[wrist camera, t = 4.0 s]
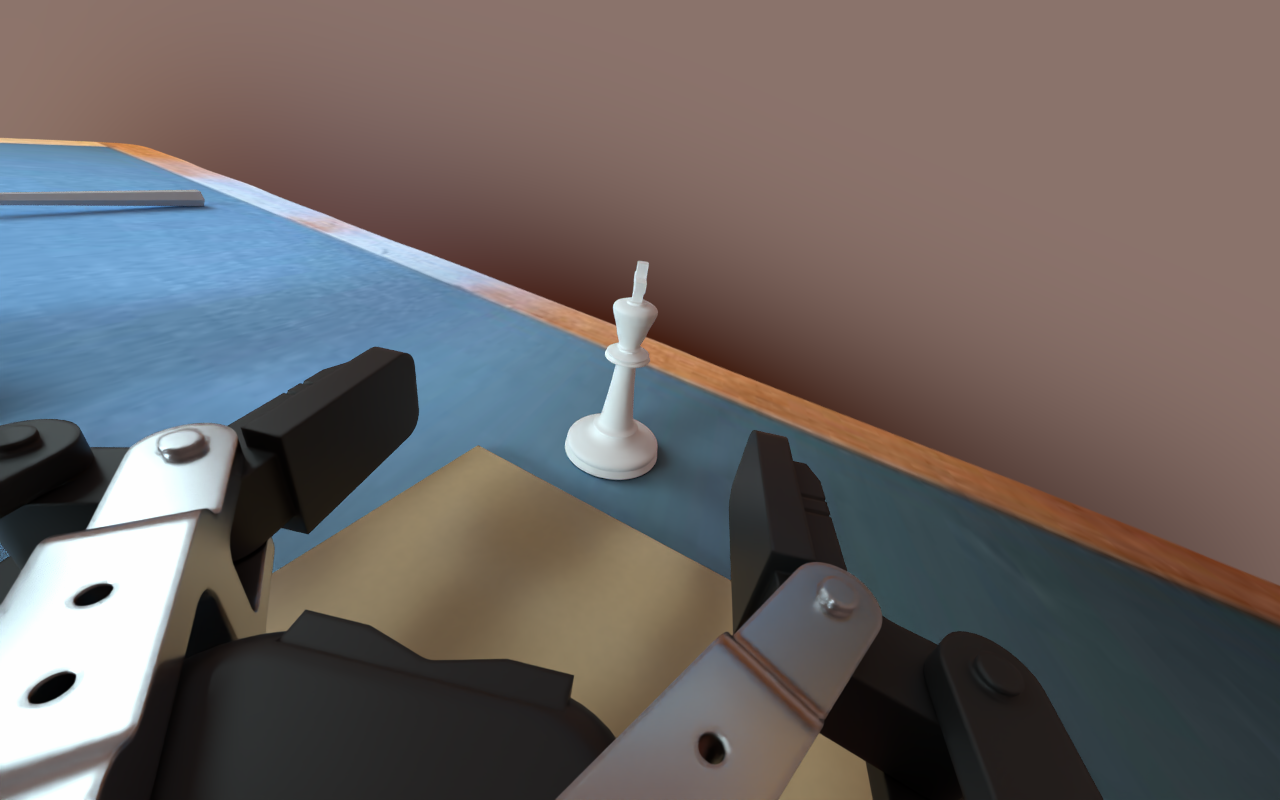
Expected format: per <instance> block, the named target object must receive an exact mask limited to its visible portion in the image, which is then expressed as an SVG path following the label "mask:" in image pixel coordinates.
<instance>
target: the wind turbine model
mask: <svg viewBox="0 0 1280 800" xmlns="http://www.w3.org/2000/svg"><path fill="white" fill-rule="evenodd" d="M0 205H76V206H204V198H203V196H202V194H201V192H200V191H198V190H154V191H83V192H11V193H0Z"/></svg>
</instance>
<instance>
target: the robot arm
mask: <svg viewBox="0 0 1280 800" xmlns="http://www.w3.org/2000/svg"><path fill="white" fill-rule="evenodd" d="M418 416H419V406H418V395H417V385H416V374H415V364H414V360H413V358H412V356H411V355H410V354H408V353H403V352H399V351H394V350H390V349H385V348H380V347H373V348H370V349H369V350H367V351H365V352H364V353H362V354H360V355H359V356H357V357H356V358H354V359H352V360H351V361H349V362H346V363H343V364H340V365H337V366H334V367H330V368H327V369H324V370H322V371H320V372H318V373H317V374H315V375H313V376H312V377H310V378H308V379H307V380H305V381H304V383H303V384H298V385H296V386H295V387H293V388H291V389H289V390H288V392H287V394H286V393H283V394H281V395H279V396H278V397H276V398H274V399H272V400H271V401H269V402H267V403H266V404H264V405H262V406H261V407H259V408H257V409H255V410H254V411H252V412H250V413H249V414H247V415H245V416H244V417H242V418H240V419H238V420H237V421H235V422H233V423H232V424H230V425H228V426H225V425H221V424H214V423H197V424H188V425H182V426H177V427H173V428H169V429H165V430H162V431H160V432H157V433H154V434H152V435H150V436H147V437H146V438H144V439H142V440H140V441H139V442H137V443H136V444H134V445H133V446H132V447H131V448H121V447H90V446H89V445H88V443H87V441H86V439H85V437H84V435H83V434H82V432H81V430H80V428H79V427H78V426H77V425H76V424H74V423H72V422H69V421H65V420H58V419H37V420H27V421H21V422H14V423H10V424H5V425H1V426H0V543H1V544H2V546H3V547H4V548H5V550H6V551H7V552H8V554H9V555H10V557H8V558H6V559H5V560H3V561H2V562H0V800H779V798H780V796H781V795H782V793H783V791H784V790H785V788H786V787H787V785H788V783H789V782H790V780H791V778H792V777H793V775H794V774H795V772H796V770H797V769H798V767H799V765H800V764H801V762H802V760H803V759H804V757H805V756H806V754H807V752H808V751H809V749H810V747H811V746H812V744H813V742H814V741H815V739H816V738H817V736H818V734H819V733H820V734H821V735H823V736H825V737H826V738H828V739H830V740H831V741H833V742H835V743H836V744H838V745H840V746H841V747H843V748H845V749H846V750H848V751H849V752H851V753H853V754H854V755H856V756H858V757H859V758H861V759H863V760H864V761H866V767H867V772H868V777H869V783H870V788H871V793H872V798H873V800H1103V798H1102V796H1101V794H1100V792H1099V791H1098V789H1097V787H1096V785H1095V783H1094V781H1093V779H1092V778H1091V776H1090V774H1089V772H1088V770H1087V768H1086V767H1085V765H1084V763H1083V761H1082V759H1081V757H1080V755H1079V754H1078V752H1077V750H1076V748H1075V746H1074V744H1073V742H1072V741H1071V739H1070V737H1069V735H1068V733H1067V731H1066V730H1065V728H1064V726H1063V724H1062V722H1061V720H1060V718H1059V717H1058V715H1057V713H1056V711H1055V709H1054V707H1053V706H1052V704H1051V702H1050V700H1049V698H1048V696H1047V694H1046V693H1045V691H1044V689H1043V688H1042V686H1041V684H1040V683H1039V682H1038V680H1037V679H1036V678H1035V676H1034V675H1033V674H1032V673H1031V672H1030V671H1029V670H1028V668H1027V667H1026V666H1025V665H1024V664H1022V663H1021V662H1020V661H1019V660H1018V659H1017V658H1016V657H1015V656H1013V655H1012V654H1011V653H1010V652H1008V651H1007V650H1006V649H1004V648H1003V647H1001V646H1000V645H998V644H996V643H994V642H993V641H991V640H989V639H987V638H985V637H982V636H980V635H977V634H974V633H969V632H961V631H958V632H952V633H950V634H948V635H947V636H946V637H944V638H943V640H942V641H941V642H940V643H939V644H938V645H937V644H935V643H933V642H931V641H929V640H927V639H925V638H923V637H921V636H919V635H917V634H915V633H913V632H911V631H909V630H907V629H905V628H903V627H901V626H899V625H897V624H895V623H893V622H891V621H890V620H888V619H886V618H885V617H884V616H882V613H881V610H880V606H879V604H878V602H877V600H876V599H875V597H874V596H873V594H872V593H871V592H870V590H869V589H868V588H867V587H866V586H865V585H864V584H863V583H862V582H861V581H860V580H859V579H857V578H856V577H855V576H853V575H852V574H850V573H849V572H847V569H846V565H845V562H844V559H843V555H842V552H841V549H840V545H839V542H838V539H837V536H836V532H835V529H834V526H833V522H832V519H831V517H829V515H830V512H829V509H828V506H827V502H825V496H824V492H823V489H822V486H821V482H820V480H819V479H818V478H817V477H816V475H815V474H814V473H813V472H812V471H811V469H810V468H809V467H808V466H807V464H804V463H799V462H795V461H793V459H792V455H791V450H790V446H789V442H788V439H787V437H784V436H779V435H775V434H770V433H765V432H761V431H756V430H753V431H752V432H751V434H750V436H749V439H748V442H747V444H746V447H745V450H744V453H743V456H742V459H741V462H740V464H739V467H738V470H737V473H736V476H735V479H734V482H733V485H732V489H731V494H730V500H729V529H730V559H731V590H732V620H733V635H731V634H730V633H729V632H724V633H723V634H721V635H720V636H719V637H717V638H716V639H715V640H714V641H713V642H712V643H711V644H710V645H709V646H708V647H707V648H706V649H705V650H704V651H703V652H702V653H701V654H700V655H699V656H698V657H697V658H696V659H695V660H694V661H693V662H692V663H691V664H690V665H689V666H688V667H687V668H686V669H685V670H684V671H683V672H682V673H681V674H680V675H679V676H678V677H677V678H676V679H675V680H674V681H673V682H672V683H671V684H670V685H669V686H668V687H667V688H666V689H665V690H664V691H663V692H662V693H661V694H660V695H659V696H658V697H657V698H656V699H655V700H654V701H653V702H652V703H651V704H650V705H649V706H648V707H647V708H646V709H645V710H644V711H643V712H642V713H641V714H640V715H639V716H638V717H637V718H636V719H635V720H634V721H633V722H632V723H631V724H630V725H629V726H628V727H627V728H626V729H625V730H624V731H623V732H622V733H621V734H620V735H619V736H618V737H617V738H616V737H615V736H614V734H613V733H612V732H611V730H610V729H609V728H608V727H607V726H606V725H605V724H604V723H603V722H602V721H601V720H600V719H599V718H598V717H597V716H596V715H595V714H594V713H593V712H591V711H590V710H589V709H588V708H586V707H585V706H584V705H582V704H581V703H579V702H577V701H576V700H574V699H572V698H571V692H572V686H573V680H574V675H572V674H568V673H564V672H560V671H555V670H551V669H547V668H543V667H539V666H535V665H531V664H527V663H523V662H519V661H515V660H511V659H467V660H430V659H426V658H424V657H422V656H420V655H418V654H417V653H415V652H414V651H412V650H410V649H409V648H407V647H405V646H404V645H402V644H400V643H399V642H397V641H395V640H394V639H392V638H391V637H389V636H387V635H386V634H384V633H382V632H381V631H379V630H377V629H376V628H374V627H372V626H371V625H368V624H363V623H359V622H355V621H351V620H347V619H343V618H339V617H335V616H331V615H327V614H323V613H318V612H314V611H310V610H306V609H305V611H304V612H303V613H302V614H301V615H300V616H299V617H298V619H297V620H296V621H295V622H294V623H293V624H292V625H291V627H290V628H289V629H288V630H287V631H281V632H273V633H266V622H267V613H268V604H269V595H270V586H271V577H272V568H273V559H274V550H275V547H274V542H273V539H272V536H273V535H274V534H275V533H276V532H277V531H278V530H279V529H281V528H284V529H288V530H292V531H297V532H301V533H305V534H309V533H310V532H311V531H312V530H313V529H314V528H315V527H316V526H317V525H318V524H319V523H320V522H321V521H323V520H324V519H325V518H326V517H327V516H328V515H329V514H330V513H331V512H332V511H333V510H334V509H335V508H336V507H337V506H338V505H339V504H340V503H341V502H342V501H343V500H344V499H345V498H346V497H347V496H348V495H349V494H350V493H351V492H352V491H353V490H355V489H356V488H357V487H358V486H359V485H360V484H361V483H362V482H363V481H364V480H365V479H366V478H367V477H368V476H369V475H370V474H371V473H372V472H373V471H374V470H375V469H376V468H377V467H378V466H379V465H380V464H381V463H382V462H383V461H384V460H385V459H386V458H388V457H389V456H390V455H391V454H392V453H393V452H394V451H395V450H396V449H397V448H398V447H399V446H400V445H401V444H402V443H403V442H404V441H405V440H406V439H407V438H408V437H409V436H410V435H411V434H412V432H413V431H414V429H415V427H416V424H417V421H418Z"/></svg>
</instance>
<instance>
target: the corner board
mask: <svg viewBox="0 0 1280 800" xmlns="http://www.w3.org/2000/svg"><path fill="white" fill-rule="evenodd" d="M305 609H306V610H310V611H314V612H318V613H323V614H327V615H331V616H335V617H339V618H343V619H347V620H351V621H355V622H359V623H363V624H368V625H371V626H372V627H374V628H376V629H377V630H379V631H381V632H382V633H384V634H386V635H387V636H389V637H391V638H392V639H394V640H395V641H397V642H399V643H400V644H402V645H404V646H405V647H407V648H409V649H410V650H412V651H414V652H415V653H417V654H418V655H420V656H422V657H424V658H426V659H430V660H467V659H511V660H515V661H519V662H523V663H527V664H531V665H535V666H539V667H543V668H547V669H551V670H555V671H560V672H564V673H568V674H572V675H574V680H573V686H572V692H571V698H572V699H574V700H576V701H577V702H579V703H581V704H582V705H584V706H585V707H586V708H588V709H589V710H590V711H591V712H593V713H594V714H595V715H596V716H597V717H598V718H599V719H600V720H601V721H602V722H603V723H604V724H605V725H606V726H607V727H608V728H609V729H610V730H611V732H612V733H613V734H614V736H615V737H616V738H617V737H618V736H619V735H620V734H621V733H622V732H623V731H624V730H625V729H626V728H627V727H628V726H629V725H630V724H631V723H632V722H633V721H634V720H635V719H636V718H637V717H638V716H639V715H640V714H641V713H642V712H643V711H644V710H645V709H646V708H647V707H648V706H649V705H650V704H651V703H652V702H653V701H654V700H655V699H656V698H657V697H658V696H659V695H660V694H661V693H662V692H663V691H664V690H665V689H666V688H667V687H668V686H669V685H670V684H671V683H672V682H673V681H674V680H675V679H676V678H677V677H678V676H679V675H680V674H681V673H682V672H683V671H684V670H685V669H686V668H687V667H688V666H689V665H690V664H691V663H692V662H693V661H694V660H695V659H696V658H697V657H698V656H699V655H700V654H701V653H702V652H703V651H704V650H705V649H706V648H707V647H708V646H709V645H710V644H711V643H712V642H713V641H714V640H715V639H716V638H717V637H719V636H720V635H721V634H723V633H724V632H729V633H730V634H731V635H733V620H732V590H731V580H729V579H727V578H725V577H723V576H721V575H719V574H718V573H716V572H714V571H712V570H710V569H708V568H706V567H705V566H703V565H701V564H699V563H697V562H695V561H693V560H691V559H690V558H688V557H686V556H684V555H682V554H680V553H678V552H676V551H675V550H673V549H671V548H669V547H667V546H665V545H663V544H662V543H660V542H658V541H656V540H654V539H652V538H650V537H648V536H647V535H645V534H643V533H641V532H639V531H637V530H635V529H634V528H632V527H630V526H628V525H626V524H624V523H622V522H620V521H619V520H617V519H615V518H613V517H611V516H609V515H607V514H605V513H604V512H602V511H600V510H598V509H596V508H594V507H592V506H591V505H589V504H587V503H585V502H583V501H581V500H579V499H577V498H576V497H574V496H572V495H570V494H568V493H566V492H564V491H563V490H561V489H559V488H557V487H555V486H553V485H551V484H549V483H548V482H546V481H544V480H542V479H540V478H538V477H536V476H534V475H533V474H531V473H529V472H527V471H525V470H523V469H521V468H520V467H518V466H516V465H514V464H512V463H510V462H508V461H506V460H505V459H503V458H501V457H499V456H497V455H495V454H493V453H491V452H490V451H488V450H486V449H484V448H482V447H480V446H476V447H474V448H473V449H471V450H470V451H468V452H466V453H465V454H463V455H462V456H460V457H458V458H457V459H455V460H454V461H452V462H450V463H449V464H447V465H446V466H444V467H442V468H441V469H439V470H438V471H436V472H434V473H433V474H431V475H430V476H428V477H426V478H425V479H423V480H422V481H420V482H418V483H417V484H415V485H414V486H412V487H410V488H409V489H407V490H405V491H404V492H402V493H401V494H399V495H397V496H396V497H394V498H393V499H391V500H389V501H388V502H386V503H385V504H383V505H381V506H380V507H378V508H377V509H375V510H373V511H372V512H370V513H369V514H367V515H365V516H364V517H362V518H361V519H359V520H357V521H356V522H354V523H353V524H351V525H349V526H348V527H346V528H345V529H343V530H341V531H340V532H338V533H336V534H335V535H333V536H332V537H330V538H328V539H327V540H325V541H324V542H322V543H320V544H319V545H317V546H316V547H314V548H312V549H311V550H309V551H308V552H306V553H304V554H303V555H301V556H300V557H298V558H296V559H295V560H293V561H292V562H290V563H288V564H287V565H285V566H284V567H282V568H280V569H279V570H277V571H275V572H274V573H272V577H271V586H270V595H269V604H268V613H267V622H266V633H273V632H281V631H287V630H288V629H289V628H290V627H291V625H292V624H293V623H294V622H295V621H296V620H297V619H298V617H299V616H300V615H301V614H302V613H303V612H304V611H305ZM779 800H873V798H872V793H871V788H870V783H869V777H868V772H867V767H866V761H864V760H863V759H861V758H859V757H858V756H856V755H854V754H853V753H851V752H849V751H848V750H846V749H845V748H843V747H841V746H840V745H838V744H836V743H835V742H833V741H831V740H830V739H828V738H826V737H825V736H823V735H821V734H820V733H819V734H818V736H817V738H816V739H815V741H814V742H813V744H812V746H811V747H810V749H809V751H808V752H807V754H806V756H805V757H804V759H803V760H802V762H801V764H800V765H799V767H798V769H797V770H796V772H795V774H794V775H793V777H792V778H791V780H790V782H789V783H788V785H787V787H786V788H785V790H784V791H783V793H782V795H781V796H780V798H779Z"/></svg>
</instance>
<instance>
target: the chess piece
mask: <svg viewBox="0 0 1280 800" xmlns="http://www.w3.org/2000/svg"><path fill="white" fill-rule="evenodd" d="M648 266H649V264H648V262H643V261H638V265H637V271H635V277H634V289H633V295H632V297H630V298H622V299H619V300H617V301H616V302H615V303H614V305H613V311H614V317H615V320H616V326H617V334H618V339H619V343H614V344H611V345H610V346H608V348H607V350H606V352H605V356H606V358H607V359H608V360H609V361H610V362H612V363H614V364H616V366H615V370H614V373H613V377H612V381H611V384H610V388H609V391H608V394H607V398H606V401H605V404H604V407H603V410H602V413H600V414H593V415H589V416H586V417H583V418H581V419H579V420H578V421H576V422H575V423H574V424H573V425H572V426H571V428H570V429H569V431H568V435H567V439H566V442H565V450H566V453H567V456H568V457H569V459H570V460H571V461H572V462H573V464H575V465H576V466H577V467H578V468H580V469H581V470H583V471H585V472H586V473H589V474H591V475H594V476H597V477H600V478H605V479H612V480H625V479H631V478H635V477H638V476H641V475H643V474H645V473H647V472H648V471H649V470H650V469H651V468H652V467H653V466H654V465H655V463H656V460H657V449H658V445H657V440H656V438H655V436H654V434H653V433H652V432H651V431H650V429H648V428H647V427H646V426H645V425H644V424H642V423H640V422H639V421H637V420H635V419H633V397H634V381H635V369H636V368H640V367H644V366H646V365H647V364H648V363H649V362H650V358H649V353H648V352H647V351H646V350H645V349H644V348H642V347H641V346H640V345H641V343H642V342H643V340H644V339H645V337H646V335H647V332H648V331H649V329H650V327H651V325H652V324H653V323H654V321H655V319H656V317H657V314H658V311H657V309H656V307H655V306H654V305H653V304H651V303H649V302H647V301H645V300H644V299H643V294H645V291H646V286H647V282H646V277H647V272H648Z"/></svg>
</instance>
